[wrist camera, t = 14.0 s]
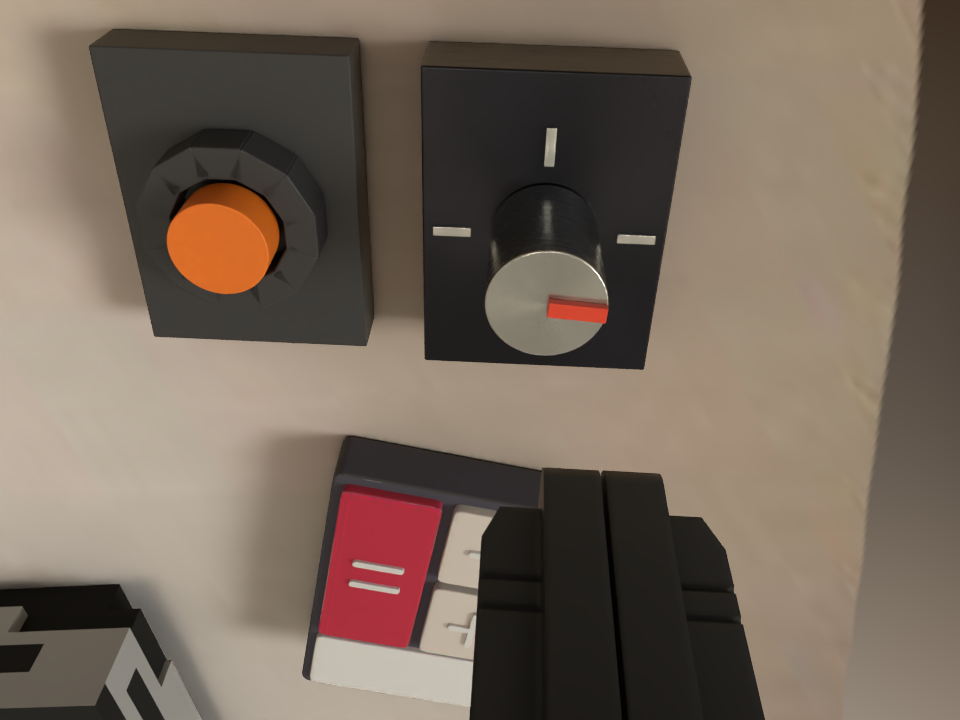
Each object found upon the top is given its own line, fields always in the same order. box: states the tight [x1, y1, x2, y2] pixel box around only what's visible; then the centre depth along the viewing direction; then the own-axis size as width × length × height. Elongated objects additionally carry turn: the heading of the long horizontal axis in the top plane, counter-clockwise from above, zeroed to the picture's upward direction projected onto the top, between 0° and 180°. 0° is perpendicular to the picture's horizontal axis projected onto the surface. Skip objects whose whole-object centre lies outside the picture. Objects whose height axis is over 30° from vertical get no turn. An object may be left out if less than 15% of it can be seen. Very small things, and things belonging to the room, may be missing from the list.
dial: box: [485, 185, 609, 356], centre depth 30 cm, size 4×4×5 cm
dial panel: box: [421, 41, 692, 370], centre depth 34 cm, size 12×9×3 cm
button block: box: [89, 29, 374, 346], centre depth 34 cm, size 12×9×4 cm
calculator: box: [302, 437, 541, 707], centre depth 46 cm, size 11×4×15 cm
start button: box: [167, 183, 280, 294], centre depth 32 cm, size 4×4×2 cm
